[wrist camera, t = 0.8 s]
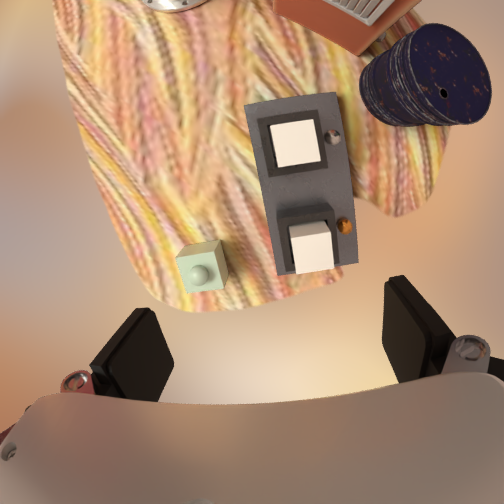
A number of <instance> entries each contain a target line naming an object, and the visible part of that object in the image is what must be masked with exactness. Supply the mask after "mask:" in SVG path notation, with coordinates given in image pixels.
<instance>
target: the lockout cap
mask: <svg viewBox="0 0 504 504" xmlns="http://www.w3.org/2000/svg"><path fill="white" fill-rule="evenodd" d="M176 262H177V265H178V268H179V271H180V274H181V277H182V280H183V283H184V286H185V289H186V292H187V293H193V292H201V291H209V290H217V289H224V287H225V284H226V281H227V278H228V275H229V272H228V269H227V265H226V261H225V257H224V253H223V249H222V245H221V241H220V240H215V241H209V242H204V243H198V244H192V245H187V246H184V248H183V249H182V250H181V251H180V253H179V254H178V255H177V256H176Z"/></svg>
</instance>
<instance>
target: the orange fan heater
mask: <svg viewBox="0 0 504 504" xmlns="http://www.w3.org/2000/svg"><path fill="white" fill-rule="evenodd" d="M420 1H421V0H273V12H274V13H276V14H278V15H281V16H283V17H285V18H287V19H290V20H292V21H294V22H296V23H298V24H300V25H302V26H304V27H306V28H308V29H310V30H312V31H314V32H316V33H318V34H320V35H322V36H324V37H326V38H327V39H329V40H331V41H333V42H335V43H336V44H338V45H340V46H341V47H343V48H345V49H346V50H348V51H350V52H351V53H353V54H355V55H356V56H359V55H360V54H361V53H363V52H364V51H365V50H366V49H367V48H368V47H369V46H370V45H371V44H372V43H373V42H374V41H377V42H382V41H383V39H384V37H385V36H386V32H385V31H387V30H388V29H389V28H390V27H391V26H392V25H393V24H394V23H396V22H397V21H398V20H399V19H400V18H401V17H402V16H404V15H405V14H406V13H407V12H408V11H409V10H411V9H412V8H413V7H414V6H415V5H417V4H418V3H419V2H420Z"/></svg>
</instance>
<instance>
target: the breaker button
mask: <svg viewBox="0 0 504 504" xmlns="http://www.w3.org/2000/svg"><path fill="white" fill-rule="evenodd" d="M270 128H271V133H272V138H273V143H274V148H275V153H276V158H277V163H278V167H284V166H290V165H297V164H303V163H310V162H317V161H321V160H320V154H319V148H318V142H317V137H316V132H315V126H314V121H313V119H310V120H303V121H296V122H289V123H283V124H277V125H271V126H270Z"/></svg>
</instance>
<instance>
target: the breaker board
mask: <svg viewBox="0 0 504 504" xmlns="http://www.w3.org/2000/svg"><path fill="white" fill-rule="evenodd" d="M244 109H245V113H246V118H247V123H248V127H249V132H250V137H251V142H252V146H253V151H254V156H255V161H256V166H257V171H258V176H259V181H260V186H261V191H262V196H263V201H264V206H265V211H266V216H267V221H268V226H269V232H270V237H271V242H272V248H273V253H274V258H275V264H276V269H277V275H278V276H279V275H286V274H292V273H296V268H295V261H294V255H293V249H292V242H291V236H290V230H289V225H294V224H300V223H307V222H313V221H319V220H324V221H325V223H326V225H327V227H328V228H329V230H330V232H331V240H332V250H333V260H334V267H336V266H342V265H348V264H354V263H358V245H357V232H356V220H355V209H354V200H353V191H352V183H351V175H350V168H349V161H348V154H347V148H346V142H345V136H344V130H343V125H342V119H341V114H340V109H339V104H338V99H337V95H336V92H330V93H320V94H311V95H303V96H295V97H288V98H282V99H276V100H270V101H264V102H259V103H254V104H248V105H244ZM310 119H313V121H314V126H315V132H316V137H317V142H318V148H319V154H320V160H321V161H317V162H310V163H303V164H297V165H290V166H284V167H278V163H277V158H276V153H275V148H274V143H273V138H272V133H271V128H270V126H271V125H277V124H283V123H289V122H296V121H303V120H310Z"/></svg>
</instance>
